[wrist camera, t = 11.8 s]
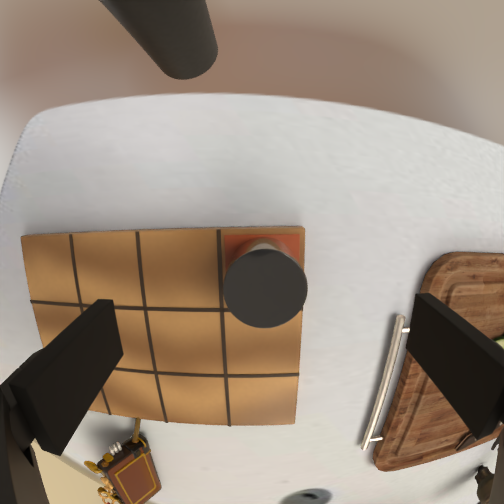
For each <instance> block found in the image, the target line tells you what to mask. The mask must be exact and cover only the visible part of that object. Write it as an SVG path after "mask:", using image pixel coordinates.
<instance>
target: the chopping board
mask: <svg viewBox="0 0 504 504" xmlns="http://www.w3.org/2000/svg"><path fill="white" fill-rule="evenodd" d="M420 293H431V294H432V295H433V296H435V297H436V298H437V299H439V300H440V301H441V302H443V303H444V304H445V305H447V306H448V307H449V308H451V309H452V310H453V311H455V312H456V313H457V314H459V315H460V316H461V317H463V318H464V319H465V320H467V321H468V322H469V323H470V324H472V325H473V326H474V327H476V328H477V329H478V330H479V331H481V332H482V333H483V334H484V335H486V336H487V337H488V338H489V339H492V340H494V341H496V342H497V343H498V344H499V345H501V346H502V347H503V349H504V254H503V253H476V252H453V253H448V254H444V255H443V256H442V257H441V258H439V259H438V260H436V261H435V262H434V263H433V264H432V266H431V267H430V269H429V270H428V272H427V273H426V275H425V277H424V280H423V283H422V286H421V289H420ZM404 322H405V316H404V315H397V316H396V321H395V326H394V331H393V336H392V340H391V345H390V349H389V353H388V357H387V361H386V365H385V369H384V373H383V377H382V381H381V384H380V388H379V391H378V395H377V398H376V402H375V405H374V408H373V411H372V414H371V418H370V421H369V424H368V427H367V430H366V433H365V435H364V438H363V441H362V444H361V447H360V448H361V449H362V450H366V449H367V448H368V445H369V443H370V442H372V441H378V442H377V445H376V447H375V449H374V452H373V461H374V463H375V466H376V467H377V468H378V470H381V471H384V472H388V471H396V470H400V469H404V468H408V467H412V466H416V465H420V464H424V463H427V462H431V461H434V460H437V459H441V458H444V457H447V456H450V455H453V454H456V453H459V452H462V451H464V450H467V449H470V448H472V447H475V446H478V445H480V444H483V443H485V442H488V441H490V440H492V439H495V438H497V437H498V436H499V434H500V432H501V430H502V428H503V427H504V425H503V423H502V422H501V421H499V422H498V424H497V426H496V428H495V430H494V432H493V433H492V434H490V435H488V436H486V437H484V438H481V439H479V440H476V438H475V437H474V436H473V434H472V433H471V431H470V430H469V429H468V427H467V426H466V425H465V423H464V422H463V421H462V419H461V418H460V417H459V415H458V414H457V413H456V411H455V410H454V409H453V407H452V406H451V405H450V403H449V402H448V401H447V399H446V398H445V397H444V396H443V394H442V393H441V392H440V390H439V389H438V388H437V386H436V385H435V384H434V383H433V381H432V380H431V379H430V378H429V376H428V375H427V374H426V373H425V371H424V370H423V369H422V368H421V366H420V365H419V364H418V363H417V361H416V360H415V359H414V358H413V356H412V355H411V354H410V353H409V351H408V350H407V353H406V357H405V361H404V364H403V368H402V372H401V375H400V378H399V382H398V385H397V388H396V391H395V395H394V398H393V401H392V404H391V407H390V410H389V412H388V415H387V418H386V421H385V424H384V426H383V429H382V432H381V434H380V436H374V437H372V435H373V432H374V429H375V426H376V423H377V420H378V418H379V415H380V412H381V409H382V405H383V402H384V399H385V396H386V393H387V389H388V386H389V383H390V379H391V375H392V372H393V368H394V364H395V361H396V357H397V353H398V349H399V345H400V340H401V336H402V333H409V329H410V327H404Z"/></svg>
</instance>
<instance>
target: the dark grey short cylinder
mask: <svg viewBox="0 0 504 504" xmlns="http://www.w3.org/2000/svg"><path fill="white" fill-rule="evenodd" d="M307 291H308V285H307V279H306V275H305V273H304V271H303V269H302V267H301V265H300V263H299V262H298V260H297V258H296V256H295V255H294V253H293V251H292V250H291V249H290V248H289V247H288V246H287V245H286V244H284V243H283V242H281V241H279V240H277V239H274V238H270V237H257V238H253V239H250V240H248V241H246V242H244V243H242V244H241V245H240V246H239V247H238V248H237V249H236V250H235V251H234V253H233V254H232V256H231V258H230V260H229V263H228V267H227V271H226V274H225V278H224V282H223V296H224V300H225V303H226V305H227V307H228V309H229V310H230V312H231V313H232V314H233V315H234V316H235V317H236V318H237V319H238V320H239V321H241V322H243V323H244V324H246V325H249V326H252V327H255V328H274V327H278V326H281V325H283V324H285V323H287V322H289V321H290V320H291V319H293V318H294V317H295V316H296V315H297V314H298V313H299V311H300V310H301V308H302V307H303V305H304V303H305V300H306V297H307Z"/></svg>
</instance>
